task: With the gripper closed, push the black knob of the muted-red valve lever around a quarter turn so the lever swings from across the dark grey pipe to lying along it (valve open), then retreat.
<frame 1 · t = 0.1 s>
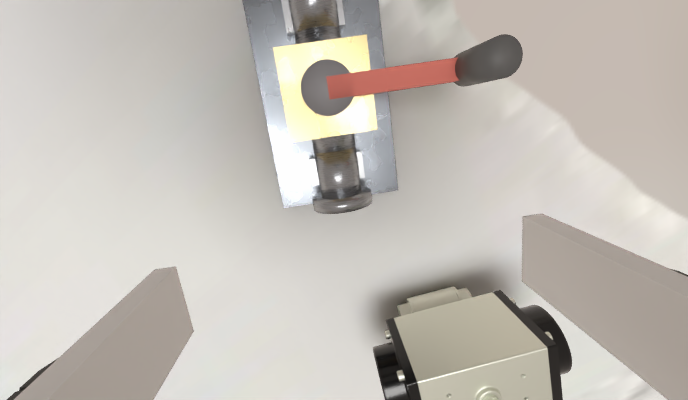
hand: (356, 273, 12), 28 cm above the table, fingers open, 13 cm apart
ball valve: (430, 303, 45), on the table
valve assembly: (325, 96, 37), on the table
lever: (400, 75, 25), point 13 cm above the table, hinge at 90.0°
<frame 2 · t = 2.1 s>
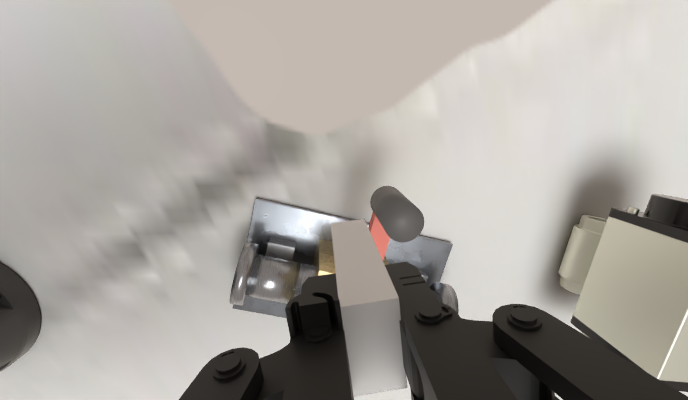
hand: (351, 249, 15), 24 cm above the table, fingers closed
ball valve: (577, 248, 43), on the table
valve assembly: (342, 273, 41), on the table
lever: (371, 284, 27), point 13 cm above the table, hinge at 90.0°
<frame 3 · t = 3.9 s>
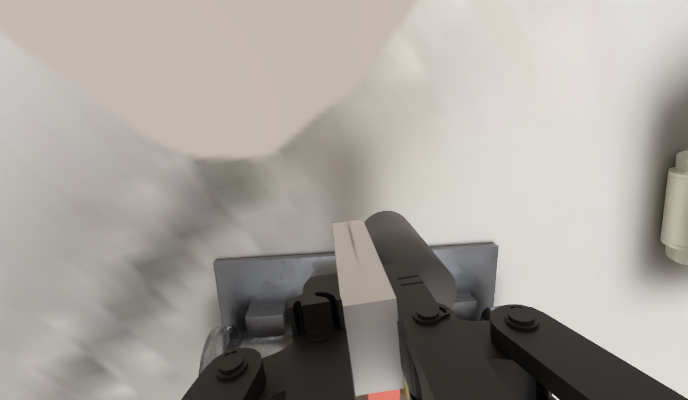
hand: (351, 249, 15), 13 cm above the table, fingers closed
ball valve: (678, 199, 29), on the table
valve assembly: (360, 322, 30), on the table
lever: (392, 380, 16), point 13 cm above the table, hinge at 87.7°, touching gripper
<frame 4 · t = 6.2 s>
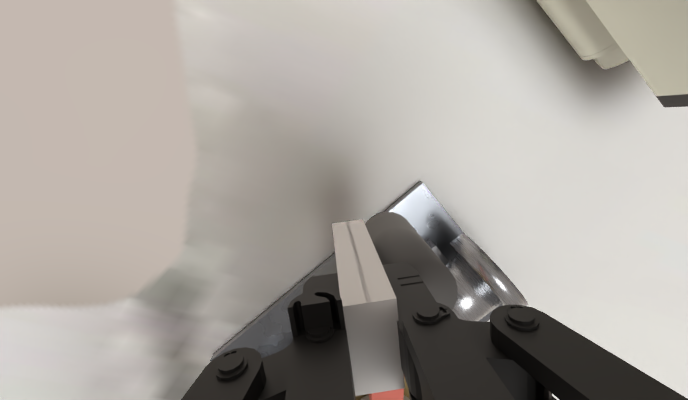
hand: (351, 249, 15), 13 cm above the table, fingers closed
ball valve: (571, 3, 25), on the table
valve assembly: (363, 323, 30), on the table
lever: (395, 382, 16), point 13 cm above the table, hinge at 49.7°, touching gripper
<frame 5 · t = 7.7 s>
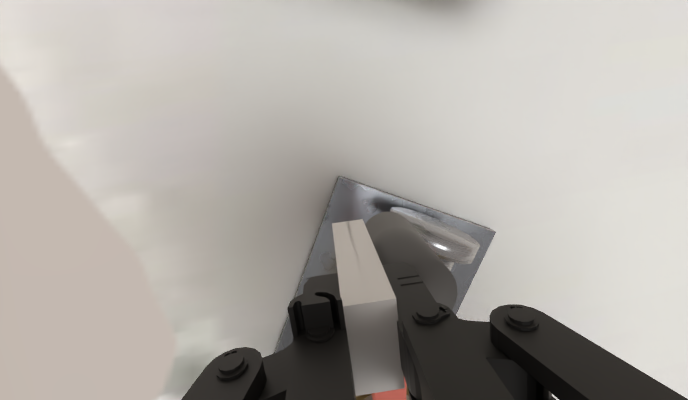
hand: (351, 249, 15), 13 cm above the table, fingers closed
valve assembly: (366, 324, 30), on the table
lever: (398, 381, 16), point 13 cm above the table, hinge at 21.5°, touching gripper
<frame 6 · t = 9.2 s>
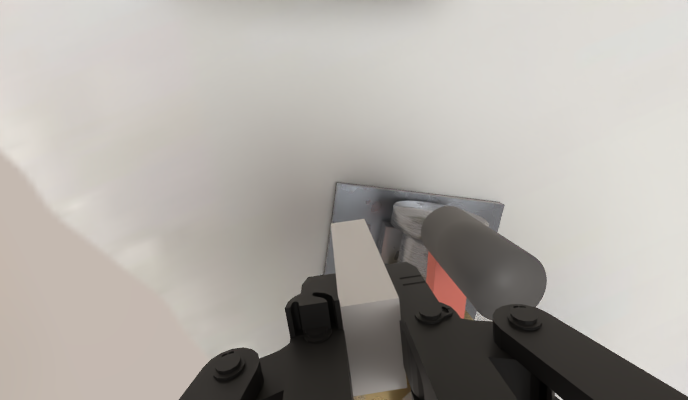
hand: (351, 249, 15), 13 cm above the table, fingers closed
valve assembly: (394, 319, 30), on the table
lever: (458, 374, 16), point 13 cm above the table, hinge at 7.5°
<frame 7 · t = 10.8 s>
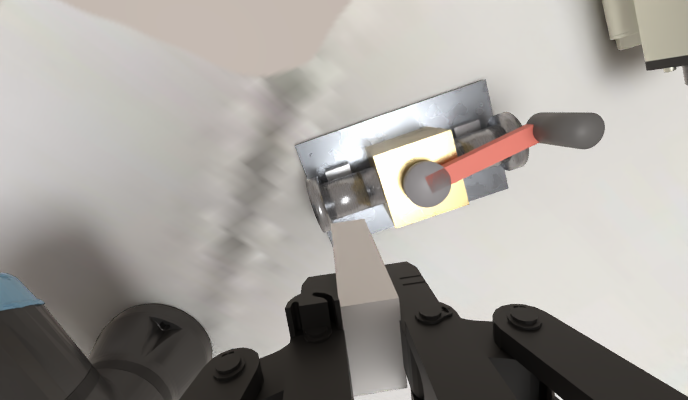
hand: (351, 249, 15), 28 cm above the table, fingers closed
ball valve: (617, 5, 38), on the table
valve assembly: (403, 166, 42), on the table
lever: (492, 162, 29), point 13 cm above the table, hinge at 7.5°
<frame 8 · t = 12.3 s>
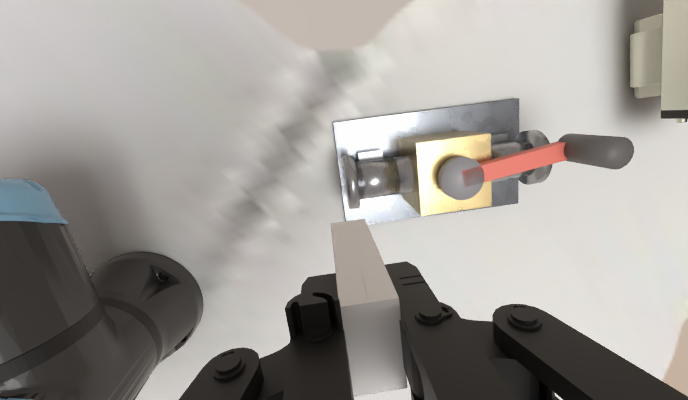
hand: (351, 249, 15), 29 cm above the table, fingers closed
ball valve: (640, 58, 43), on the table
valve assembly: (428, 164, 44), on the table
lever: (527, 167, 32), point 13 cm above the table, hinge at 7.5°
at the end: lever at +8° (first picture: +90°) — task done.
